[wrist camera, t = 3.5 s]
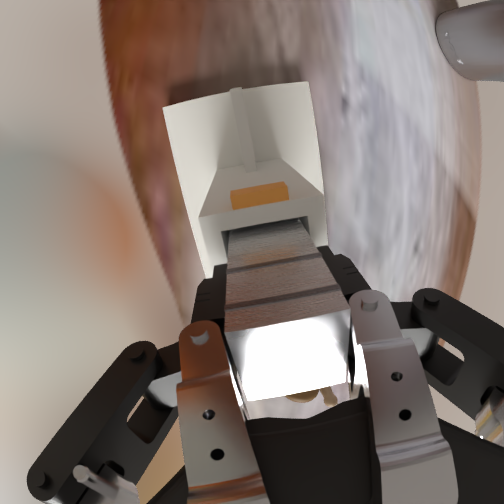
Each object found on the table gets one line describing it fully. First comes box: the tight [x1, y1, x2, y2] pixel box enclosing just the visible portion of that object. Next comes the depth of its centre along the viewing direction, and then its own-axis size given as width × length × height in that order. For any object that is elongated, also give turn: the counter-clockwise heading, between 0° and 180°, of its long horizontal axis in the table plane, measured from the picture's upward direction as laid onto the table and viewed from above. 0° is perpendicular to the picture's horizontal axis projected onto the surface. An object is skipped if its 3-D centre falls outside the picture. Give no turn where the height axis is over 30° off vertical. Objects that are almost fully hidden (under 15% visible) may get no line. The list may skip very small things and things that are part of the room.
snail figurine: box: [284, 386, 338, 407], centre depth 28 cm, size 5×6×12 cm
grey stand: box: [163, 81, 328, 279], centre depth 19 cm, size 18×12×14 cm, turn 10°
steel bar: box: [224, 217, 351, 401], centre depth 15 cm, size 3×3×17 cm
